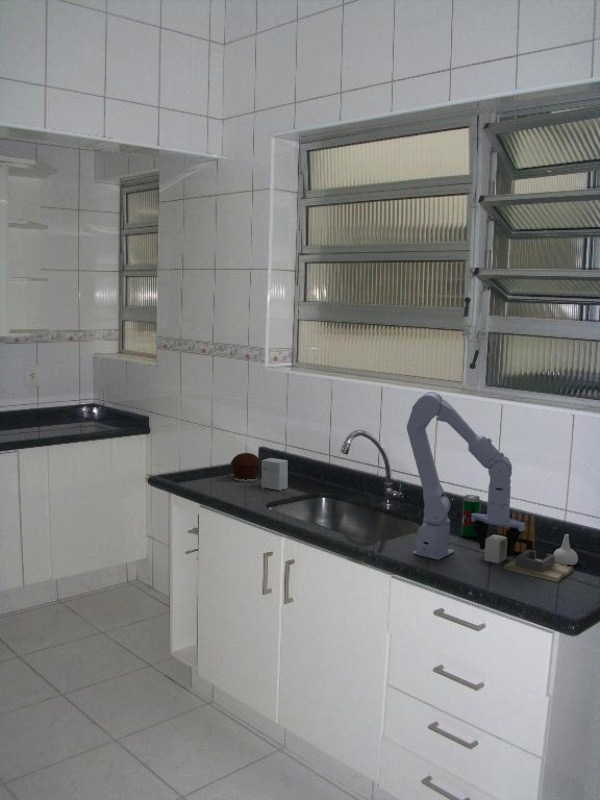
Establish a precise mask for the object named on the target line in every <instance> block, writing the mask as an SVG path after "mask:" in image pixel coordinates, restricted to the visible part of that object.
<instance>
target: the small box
mask: <svg viewBox="0 0 600 800" xmlns="http://www.w3.org/2000/svg"><path fill="white" fill-rule="evenodd" d="M288 465H289V462H288V460H287V459H282V458H273V457H269V458H265V459H262V460H261V488H262V487H266V488H271V489H276V490H281V491H283V490H282V489H284V490H287V489H288V485H289V484H288V478H289V476H288V475H289V474H288V473H289V472H288V471H289V470H288V467H289V466H288Z"/></svg>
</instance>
